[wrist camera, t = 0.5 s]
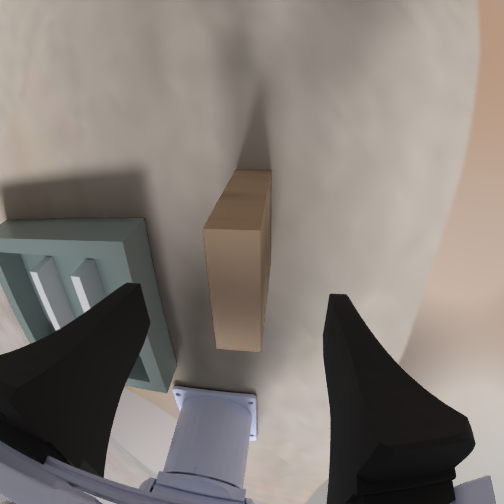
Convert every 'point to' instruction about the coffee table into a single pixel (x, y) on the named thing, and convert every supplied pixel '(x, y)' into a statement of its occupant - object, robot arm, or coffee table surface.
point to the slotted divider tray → (83, 281)
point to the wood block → (240, 260)
